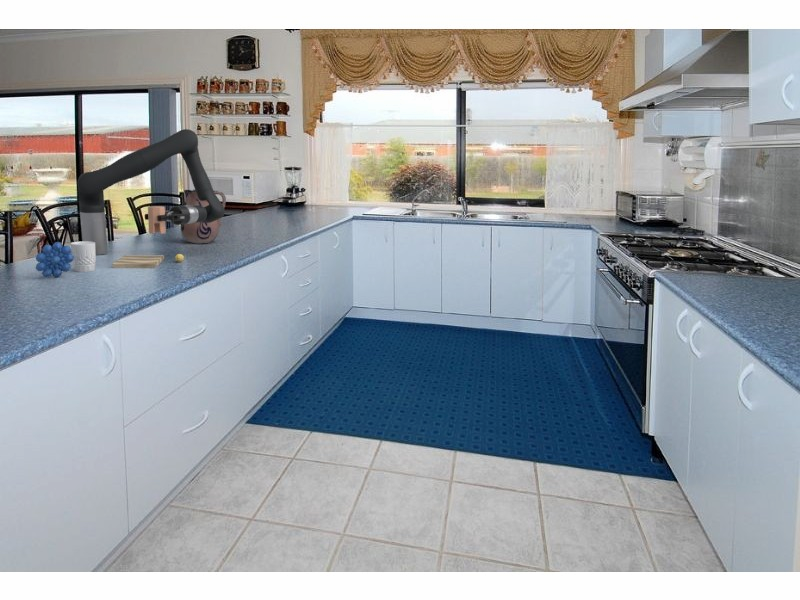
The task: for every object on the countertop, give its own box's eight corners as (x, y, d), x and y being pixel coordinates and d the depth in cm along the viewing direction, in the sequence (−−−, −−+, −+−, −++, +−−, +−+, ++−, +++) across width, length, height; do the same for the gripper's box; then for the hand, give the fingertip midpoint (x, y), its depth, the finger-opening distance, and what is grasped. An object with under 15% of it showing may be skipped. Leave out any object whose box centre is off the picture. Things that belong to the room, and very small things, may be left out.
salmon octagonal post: (149, 231, 245) (148, 206, 242) (165, 231, 247) (164, 206, 244) (148, 233, 239) (147, 207, 237) (165, 233, 241) (164, 207, 239)
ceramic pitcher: (182, 240, 307) (180, 188, 301) (227, 239, 313) (225, 189, 307) (180, 245, 291) (177, 190, 285) (227, 245, 296) (225, 191, 291)
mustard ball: (176, 261, 250) (175, 253, 249) (184, 261, 250) (184, 253, 250) (174, 262, 247) (174, 254, 246) (183, 262, 247) (182, 254, 246)
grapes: (73, 273, 219) (70, 239, 216) (76, 277, 213) (73, 242, 211) (35, 276, 212) (31, 241, 209) (37, 280, 207) (34, 244, 204)
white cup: (73, 268, 227) (71, 241, 225) (97, 268, 230) (95, 241, 228) (72, 272, 220) (70, 244, 218) (97, 271, 224) (95, 244, 221)
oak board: (124, 258, 251) (124, 255, 250) (163, 258, 254) (163, 255, 253) (112, 267, 232) (112, 263, 231) (155, 267, 235) (154, 263, 234)
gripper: (170, 204, 256) (137, 206, 241) (197, 206, 250) (165, 209, 235) (171, 222, 258) (138, 225, 243) (197, 225, 252) (166, 229, 237)
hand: (151, 217), depth 239 cm, fingers closed on salmon octagonal post, 6 cm apart
